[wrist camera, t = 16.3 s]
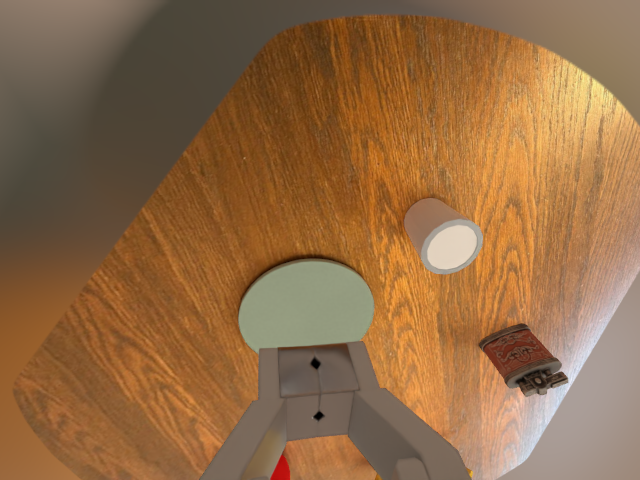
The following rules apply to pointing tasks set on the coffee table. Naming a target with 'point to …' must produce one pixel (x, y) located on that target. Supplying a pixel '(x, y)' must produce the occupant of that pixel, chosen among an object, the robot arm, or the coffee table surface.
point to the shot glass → (442, 236)
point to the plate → (306, 306)
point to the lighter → (523, 360)
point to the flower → (281, 470)
